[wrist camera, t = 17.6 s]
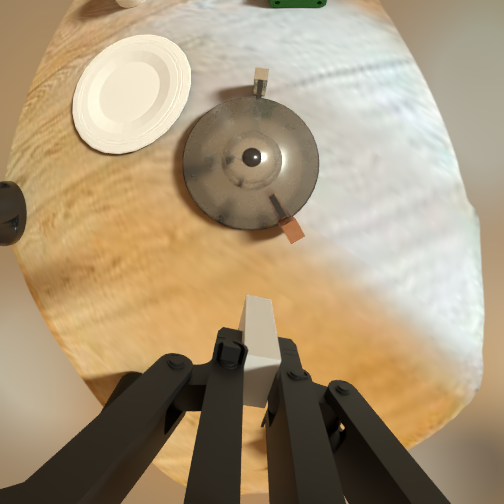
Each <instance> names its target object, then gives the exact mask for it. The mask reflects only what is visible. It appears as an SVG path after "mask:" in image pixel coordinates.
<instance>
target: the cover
mask: <svg viewBox="0 0 504 504" xmlns="http://www.w3.org/2000/svg"><path fill="white" fill-rule="evenodd" d="M221 163H222V168H223V171H224V174H225V175H226V177H227V178H228V180H229V181H230V182H231V183H233V184H234V185H235V186H237V187H239V188H241V189H245V190H259V189H262V188H265V187H267V186H269V185H270V184H271V183H272V182H274V181H275V179H276V178H277V177H278V175H279V173H280V171H281V168H282V154H281V150H280V148H279V146H278V145H277V143H276V142H275V141H274V140H273V139H272V138H271V137H270V136H268V135H266V134H264V133H262V132H258V131H246V132H242V133H240V134H238V135H236V136H234V137H233V138H232V139H231V140H229V142H228V143H227V144H226V146H225V148H224V150H223V153H222V158H221Z"/></svg>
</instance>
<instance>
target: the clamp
mask: <svg viewBox="0 0 504 504" xmlns="http://www.w3.org/2000/svg"><path fill="white" fill-rule="evenodd" d="M269 2H270V5H271V6H272V7H276V8H278V7H323V6H325V5H326V2H327V0H269Z"/></svg>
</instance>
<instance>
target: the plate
mask: <svg viewBox="0 0 504 504" xmlns="http://www.w3.org/2000/svg"><path fill="white" fill-rule="evenodd" d="M190 88H191V69H190V66H189V63H188V61H187V58H186V55H185V54H184V53H183V52H182V50H181V49H180V48H179V47H178V46H177V45H176V44H175V43H173V42H171V41H170V40H168V39H166V38H164V37H160V36H155V35H135V36H132V37H128V38H125V39H121V40H119V41H118V42H116V43H114V44H112V45H110V46H108V47H107V48H105V49H104V50H103V51H102V52H101V53H99V54H98V55H97V56H96V57H95V58H94V59H93V60H92V61H91V63H90V64H89V65H88V66H87V68H86V69H85V70H84V72H83V74H82V76H81V77H80V79H79V81H78V83H77V86H76V90H75V93H74V97H73V108H72V114H73V119H74V123H75V127H76V129H77V131H78V133H79V134H80V136H81V138H82V139H83V140H84V141H85V142H86V143H87V144H88V145H90V146H91V147H92V148H94V149H97V150H99V151H101V152H104V153H113V154H123V153H128V152H133V151H137V150H139V149H141V148H143V147H145V146H147V145H149V144H151V143H153V142H154V141H155V140H157V139H158V138H159V137H161V136H162V135H163V134H164V133H166V132H167V131H168V130H169V128H170V127H171V126H172V125H173V124H174V122H175V121H176V120H177V119H178V118H179V116H180V114H181V112H182V110H183V108H184V106H185V104H186V102H187V100H188V96H189V92H190Z"/></svg>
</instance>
